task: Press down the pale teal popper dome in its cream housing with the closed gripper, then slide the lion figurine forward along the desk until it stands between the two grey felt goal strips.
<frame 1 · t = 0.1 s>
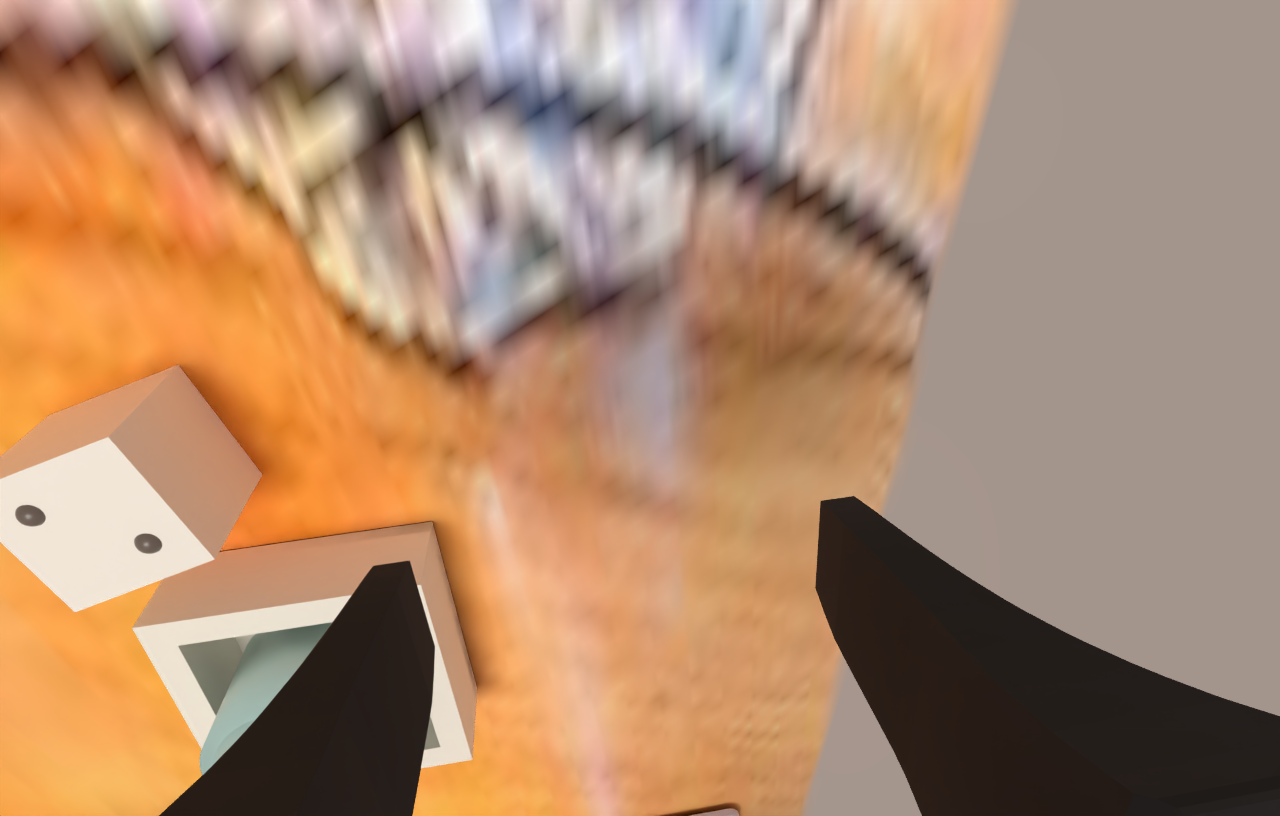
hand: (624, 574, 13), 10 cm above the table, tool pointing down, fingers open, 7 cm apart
die: (161, 444, 21), on the table
dome plunger: (309, 735, 22), point 4 cm above the table, slide at 0.2 cm
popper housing: (340, 629, 25), on the table
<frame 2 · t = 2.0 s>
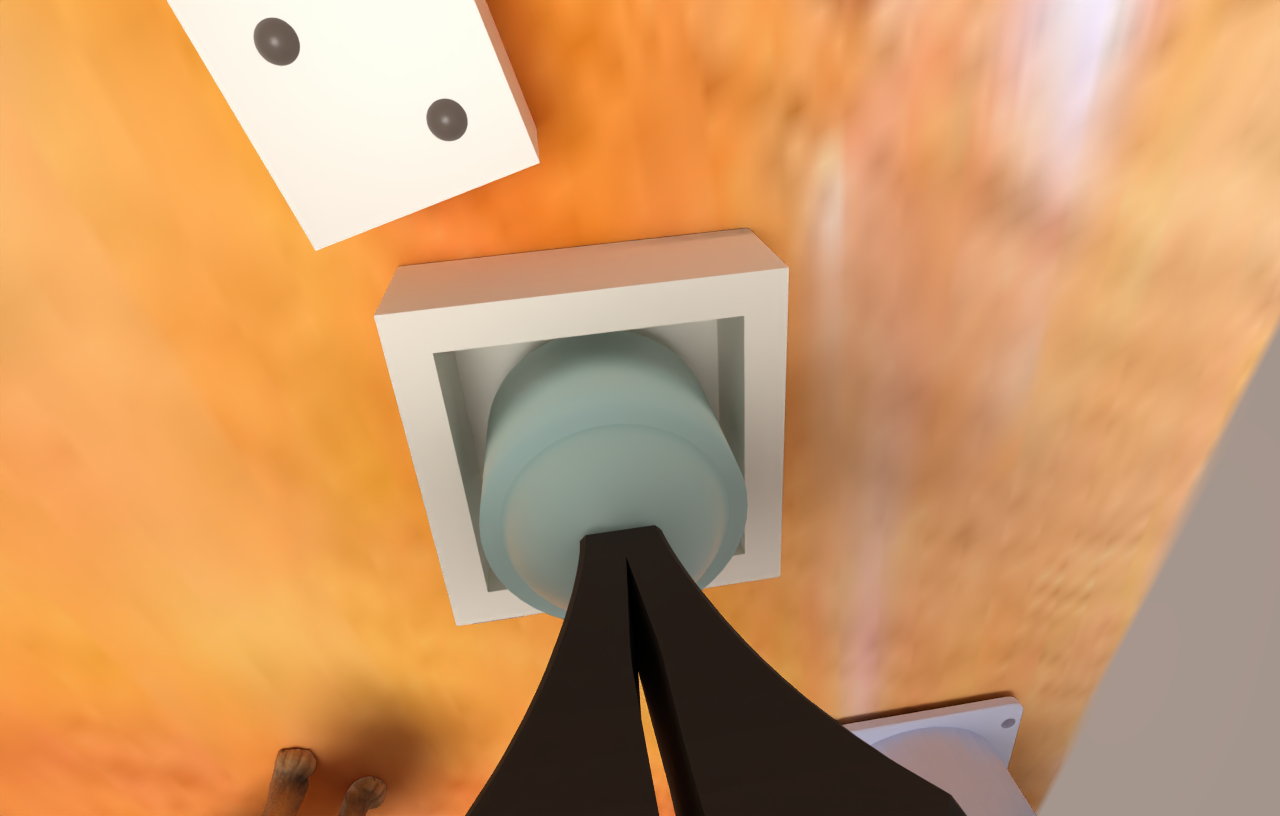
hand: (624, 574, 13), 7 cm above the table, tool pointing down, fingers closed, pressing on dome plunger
die: (403, 64, 15), on the table
dome plunger: (611, 493, 15), point 4 cm above the table, slide at 0.4 cm, touching gripper
lion figurine: (259, 798, 24), on the table
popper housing: (594, 400, 19), on the table
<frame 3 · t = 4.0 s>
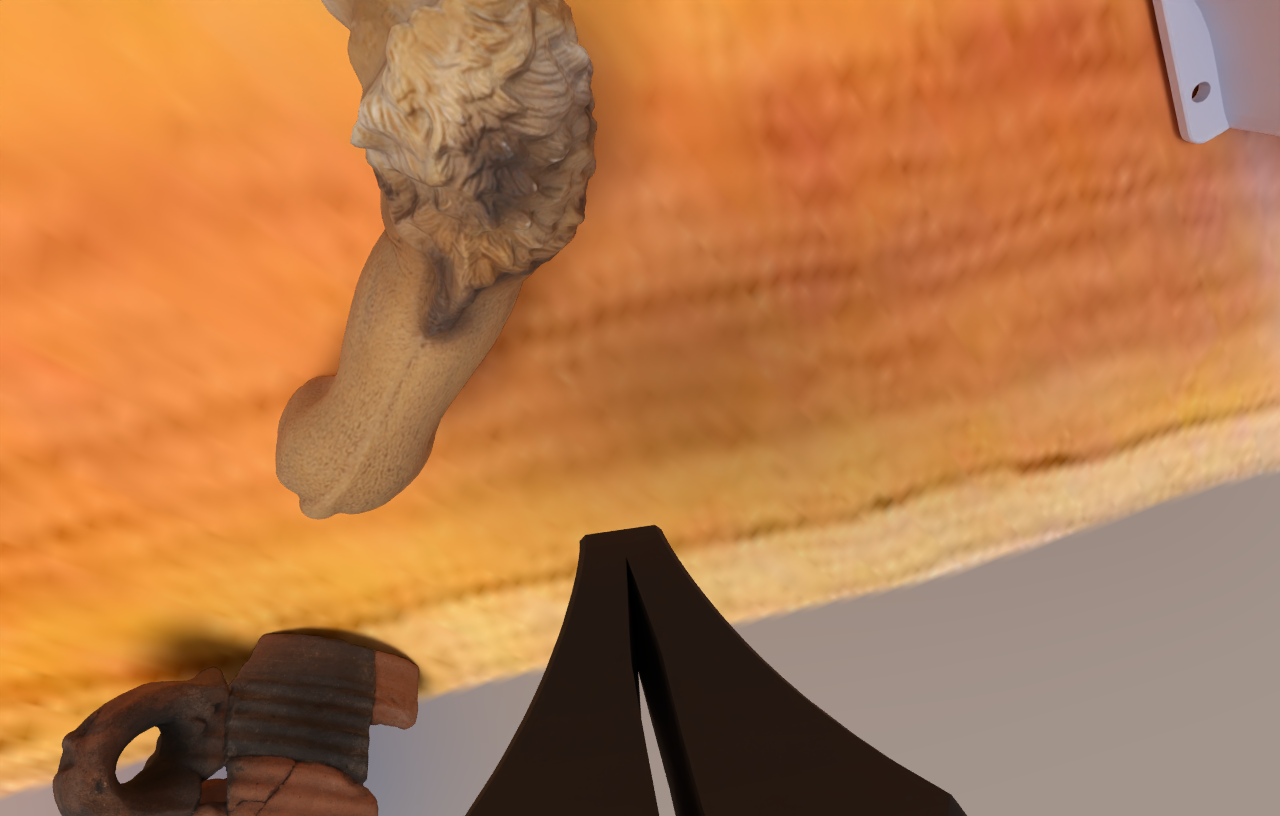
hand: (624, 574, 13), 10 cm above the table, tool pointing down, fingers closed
brown twisted loop: (288, 703, 27), on the table
lion figurine: (426, 235, 20), on the table
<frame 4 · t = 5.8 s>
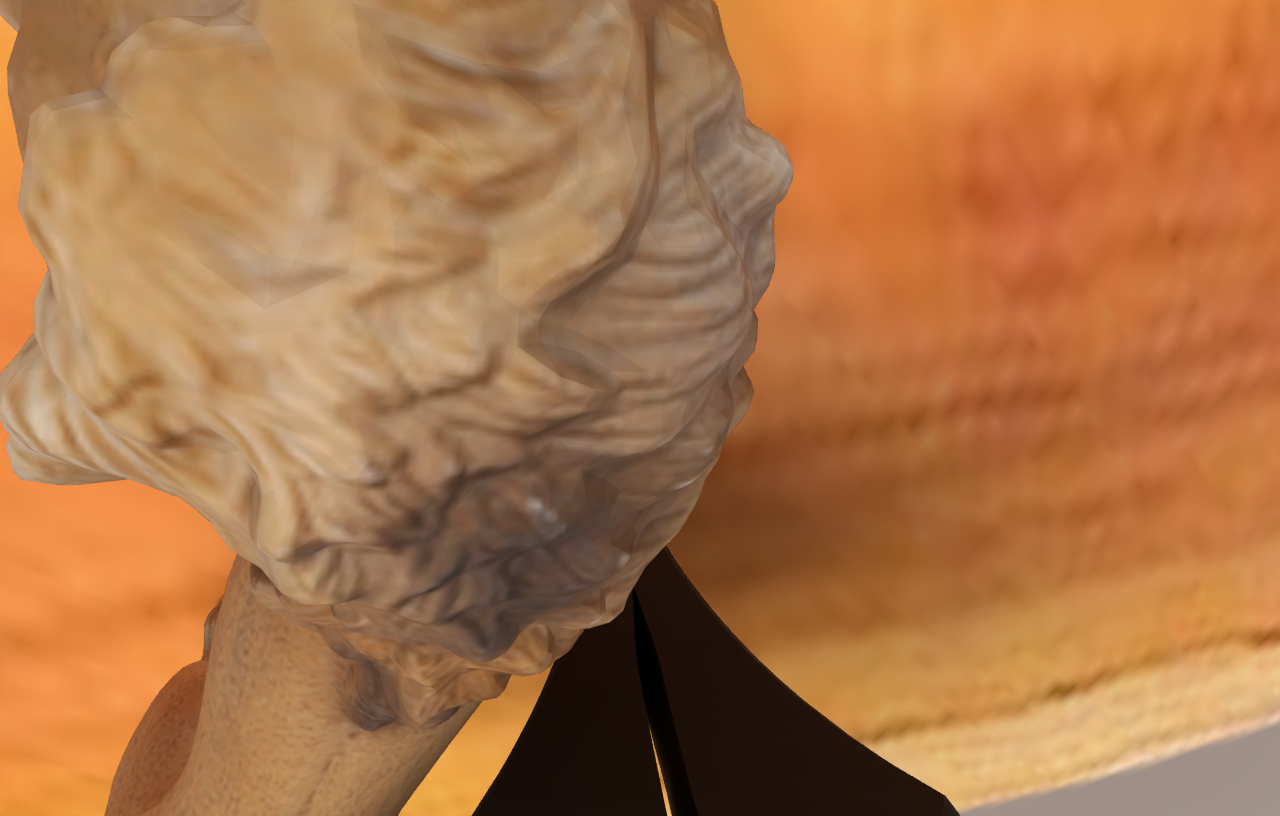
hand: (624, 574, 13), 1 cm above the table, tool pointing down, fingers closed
lion figurine: (396, 388, 12), on the table, touching gripper
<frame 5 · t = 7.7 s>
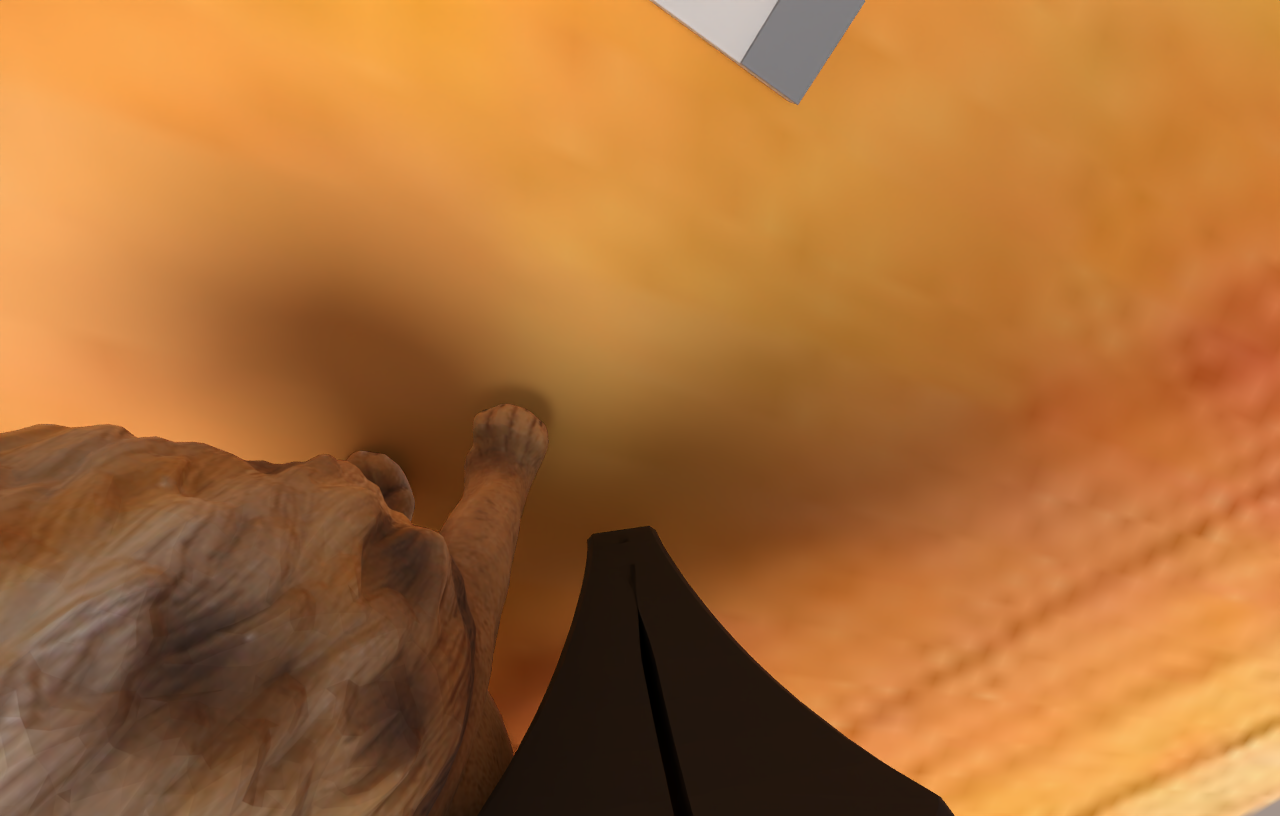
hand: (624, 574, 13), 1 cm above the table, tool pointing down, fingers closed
lion figurine: (464, 575, 14), on the table, touching gripper
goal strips: (283, 392, 12), on the table
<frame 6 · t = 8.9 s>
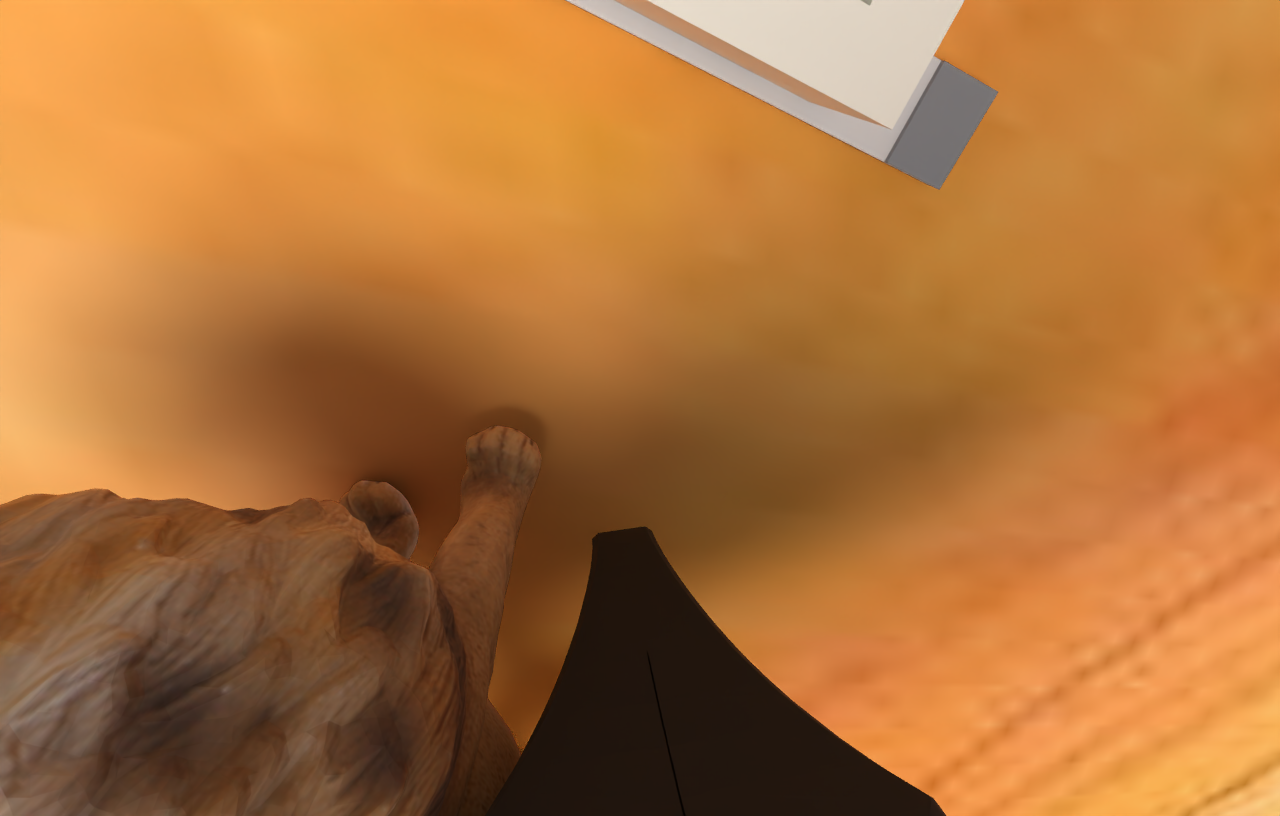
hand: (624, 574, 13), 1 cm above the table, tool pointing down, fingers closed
lion figurine: (476, 593, 14), on the table, touching gripper
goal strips: (488, 492, 13), on the table
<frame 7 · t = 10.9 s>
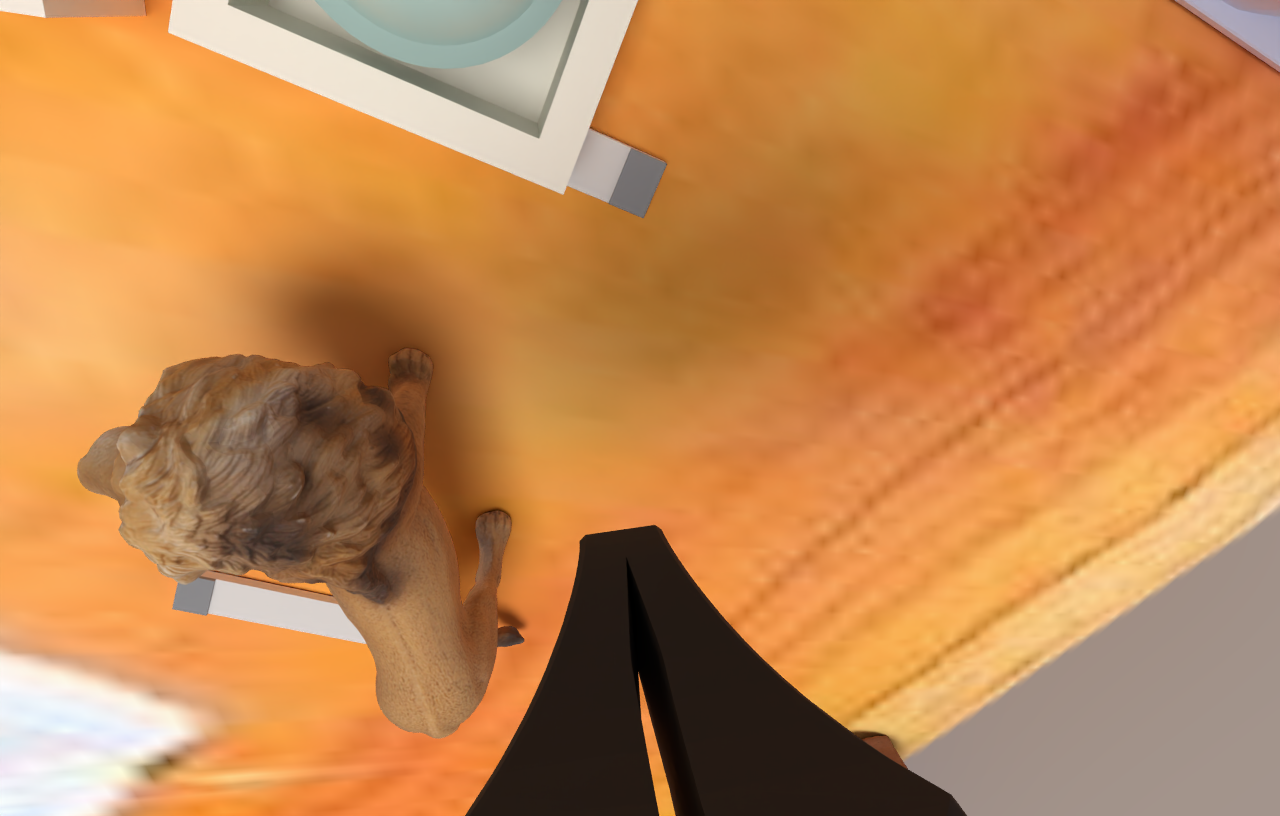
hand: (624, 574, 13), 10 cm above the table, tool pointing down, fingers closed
brown twisted loop: (805, 796, 34), on the table
lion figurine: (398, 465, 23), on the table
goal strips: (395, 403, 21), on the table
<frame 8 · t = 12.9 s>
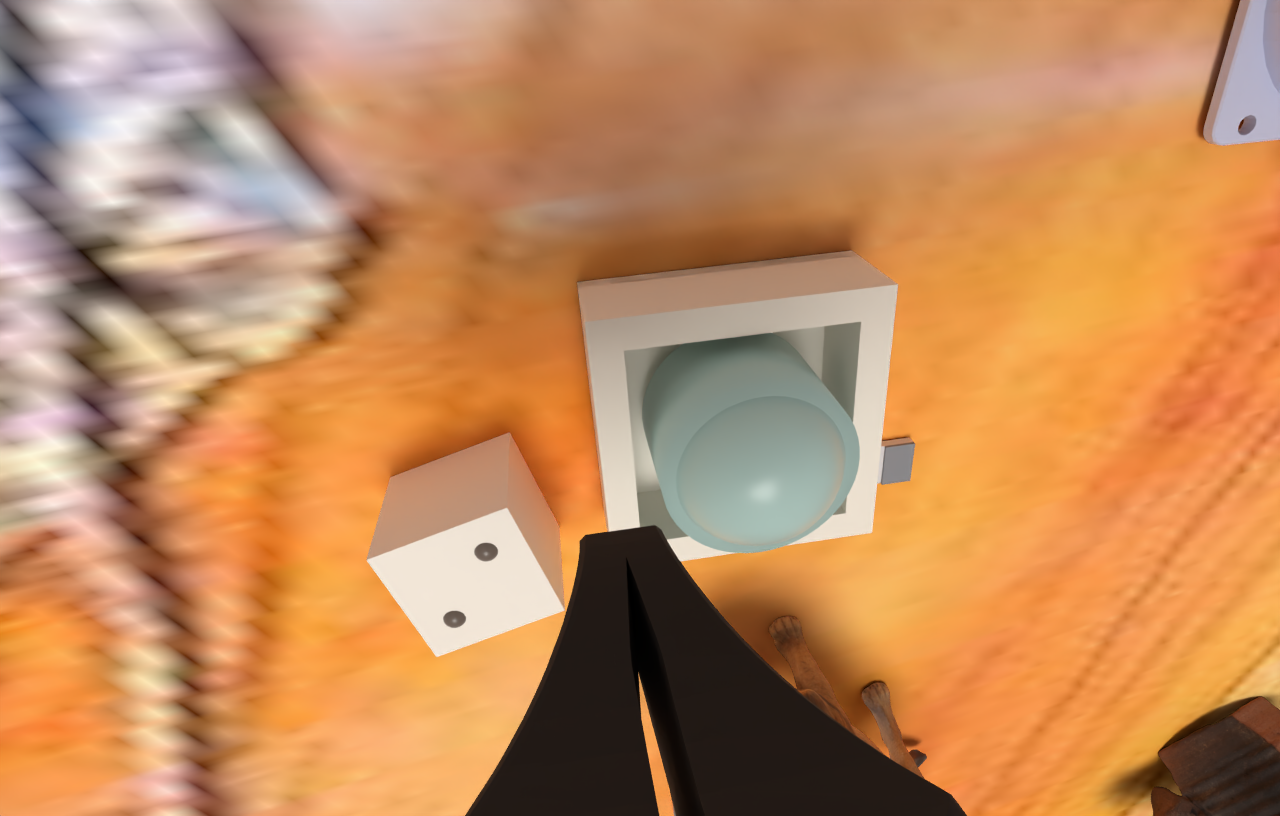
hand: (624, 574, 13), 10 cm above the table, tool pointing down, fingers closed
die: (478, 501, 24), on the table
brown twisted loop: (1201, 761, 38), on the table
dome plunger: (751, 452, 20), point 4 cm above the table, slide at 0.8 cm
lion figurine: (793, 682, 30), on the table, touching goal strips
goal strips: (774, 652, 29), on the table
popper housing: (719, 389, 23), on the table
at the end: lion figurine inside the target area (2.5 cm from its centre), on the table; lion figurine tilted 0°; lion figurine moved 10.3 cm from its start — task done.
